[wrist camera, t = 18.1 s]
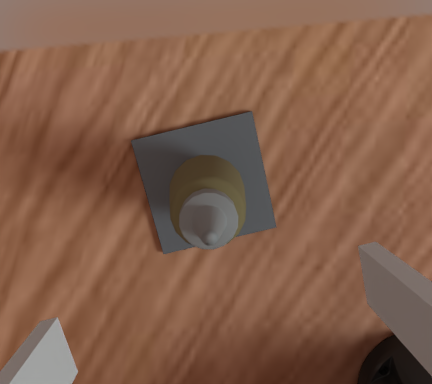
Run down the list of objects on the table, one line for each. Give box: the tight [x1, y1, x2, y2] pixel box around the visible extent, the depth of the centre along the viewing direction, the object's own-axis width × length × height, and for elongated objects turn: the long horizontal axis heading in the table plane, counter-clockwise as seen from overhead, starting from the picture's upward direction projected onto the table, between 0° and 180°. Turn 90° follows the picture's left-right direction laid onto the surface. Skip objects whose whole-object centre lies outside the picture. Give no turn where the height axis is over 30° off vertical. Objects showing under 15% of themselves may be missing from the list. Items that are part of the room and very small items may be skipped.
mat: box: [131, 111, 276, 254], centre depth 42 cm, size 14×14×1 cm
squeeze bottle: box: [169, 155, 246, 249], centre depth 33 cm, size 8×8×18 cm
